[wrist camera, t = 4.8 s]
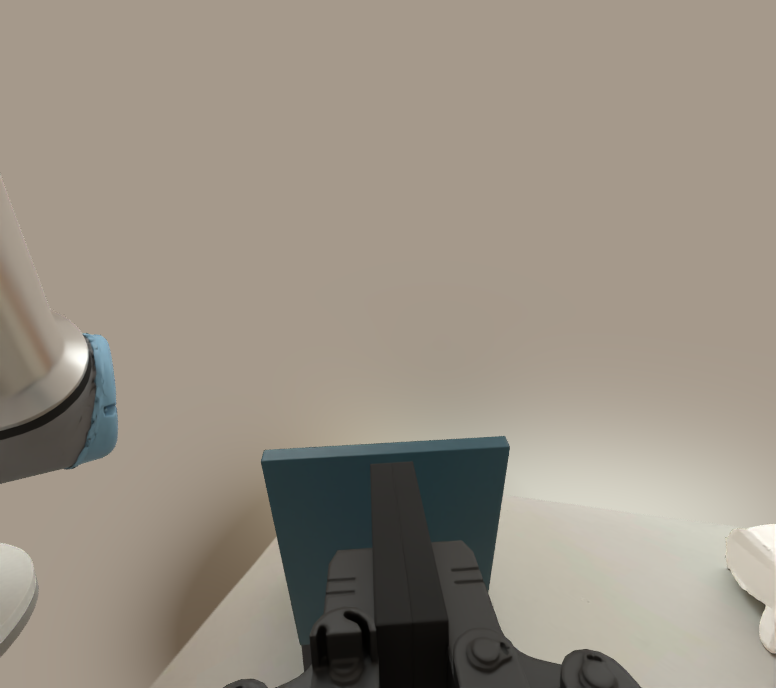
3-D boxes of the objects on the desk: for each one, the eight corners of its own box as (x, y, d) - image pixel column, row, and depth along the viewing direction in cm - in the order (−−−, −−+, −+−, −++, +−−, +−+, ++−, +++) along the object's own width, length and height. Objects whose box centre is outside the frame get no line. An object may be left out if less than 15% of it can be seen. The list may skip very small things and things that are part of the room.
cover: (263, 449, 20) (260, 461, 20) (505, 435, 21) (510, 446, 20) (301, 632, 28) (299, 645, 27) (479, 618, 28) (482, 631, 28)
